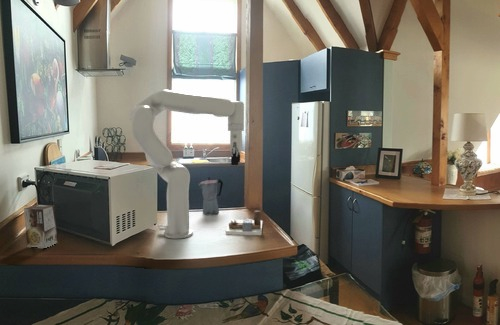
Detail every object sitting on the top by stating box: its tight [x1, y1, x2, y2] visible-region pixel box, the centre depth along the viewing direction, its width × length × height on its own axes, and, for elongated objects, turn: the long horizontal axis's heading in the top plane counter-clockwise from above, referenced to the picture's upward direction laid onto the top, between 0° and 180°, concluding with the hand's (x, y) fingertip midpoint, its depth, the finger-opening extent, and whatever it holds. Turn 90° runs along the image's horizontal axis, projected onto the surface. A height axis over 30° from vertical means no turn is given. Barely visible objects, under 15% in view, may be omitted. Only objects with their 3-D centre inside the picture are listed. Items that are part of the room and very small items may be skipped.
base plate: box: [225, 219, 263, 236], centre depth 162 cm, size 16×18×2 cm
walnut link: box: [228, 210, 262, 228], centre depth 158 cm, size 15×4×8 cm, turn 87°
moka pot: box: [198, 176, 224, 215], centre depth 189 cm, size 10×15×20 cm, turn 133°
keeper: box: [230, 218, 253, 231], centre depth 157 cm, size 10×6×4 cm, turn 86°
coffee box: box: [23, 204, 58, 249], centre depth 138 cm, size 9×6×16 cm
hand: (235, 163), depth 164 cm, fingers open, 9 cm apart
